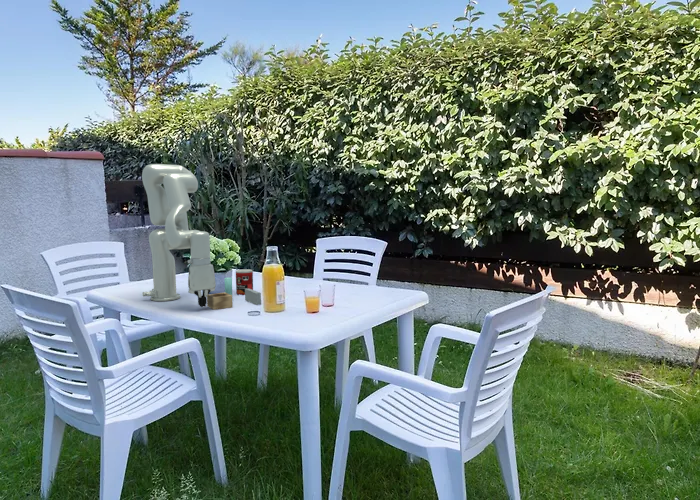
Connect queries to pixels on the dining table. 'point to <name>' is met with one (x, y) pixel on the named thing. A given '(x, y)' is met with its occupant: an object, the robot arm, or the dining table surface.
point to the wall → (253, 296)
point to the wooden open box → (219, 301)
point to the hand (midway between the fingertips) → (202, 306)
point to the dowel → (228, 285)
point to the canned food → (244, 280)
